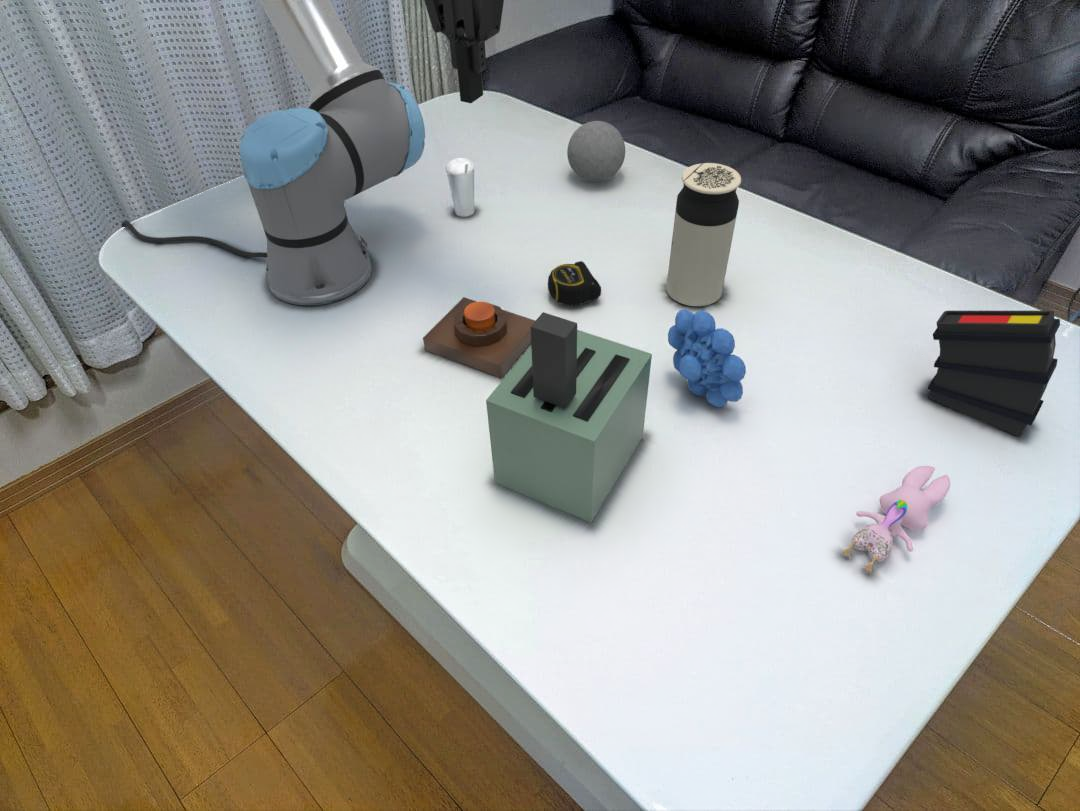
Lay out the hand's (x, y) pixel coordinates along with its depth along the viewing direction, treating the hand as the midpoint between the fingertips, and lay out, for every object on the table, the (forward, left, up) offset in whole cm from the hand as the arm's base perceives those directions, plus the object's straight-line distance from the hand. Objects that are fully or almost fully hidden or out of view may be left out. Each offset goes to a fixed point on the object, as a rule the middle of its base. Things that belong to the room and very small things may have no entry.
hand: (472, 97), depth 87 cm
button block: (+5, -10, -28) cm, 31 cm away
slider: (+25, -27, -15) cm, 39 cm away
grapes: (+34, -7, -29) cm, 45 cm away
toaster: (+25, -23, -28) cm, 44 cm away
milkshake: (-15, +17, -29) cm, 37 cm away
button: (+5, -10, -25) cm, 27 cm away
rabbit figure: (+59, -16, -29) cm, 68 cm away
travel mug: (+26, +14, -29) cm, 41 cm away
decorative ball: (-1, +37, -29) cm, 47 cm away
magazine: (+64, +6, -29) cm, 70 cm away
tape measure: (+11, +5, -29) cm, 31 cm away
